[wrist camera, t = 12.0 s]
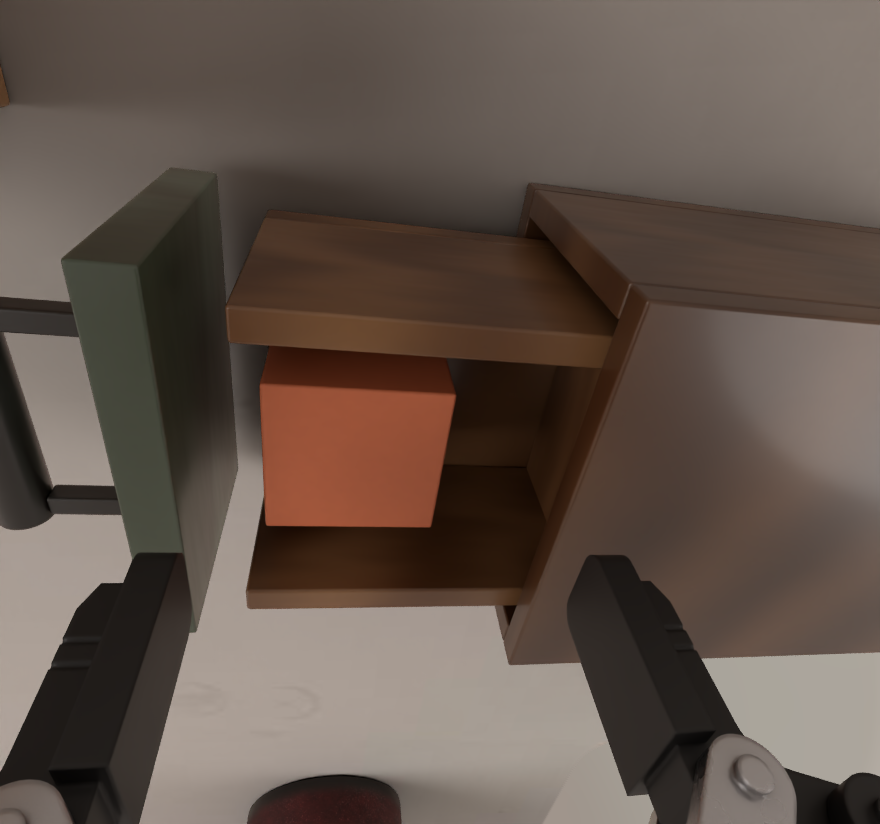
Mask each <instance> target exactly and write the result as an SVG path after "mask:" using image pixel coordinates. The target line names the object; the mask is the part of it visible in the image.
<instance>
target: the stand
mask: <svg viewBox="0 0 880 824" xmlns="http://www.w3.org/2000/svg"><path fill="white" fill-rule="evenodd" d="M9 103H10V101H9V97H8V93H7V89H6V85H5V82H4V78H3V74H2V70H1V66H0V107H4V106H7V105H9Z"/></svg>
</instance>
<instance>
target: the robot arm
mask: <svg viewBox="0 0 880 824" xmlns="http://www.w3.org/2000/svg"><path fill="white" fill-rule="evenodd" d="M191 616H192V602H191V596H190V589H189V583H188V577H187V571H186V565H185V559H184V555H183V553H160V552H140V553H137V554H136V555H135V557H134V558H133V560H132V563H131V565H130V567H129V570H128V572H127V575H126V577H125V580H124V582H123V583H101V584H100V585H99V586H98V587H97V588H96V589H95V590H94V591H93V592H92V593H91V595H90V596H89V597H88V598H87V599H86V600H85V601H84V602H83V603H82V604H81V605H80V606H79V607H78V608H77V609H76V611H75V613H74V616H73V618H72V620H71V622H70V624H69V626H68V628H67V631H66V633H65V635H64V637H63V643H62V644H61V645H60V646H59V648H58V650H57V652H56V654H55V657H54V659H53V661H52V663H51V664H52V665H51V669H50V670H48V672H47V674H46V676H45V678H44V680H43V682H42V685H41V687H40V689H39V691H38V693H37V695H36V697H35V700H34V702H33V704H32V706H31V708H30V710H29V713H28V715H27V717H26V719H25V721H24V723H23V726H22V728H21V730H20V732H19V734H18V736H17V738H16V741H15V743H14V745H13V747H12V749H11V751H10V754H9V756H8V758H7V760H6V762H5V764H4V766H3V768H2V770H1V772H0V824H139V822H140V818H141V814H142V810H143V807H144V803H145V799H146V795H147V791H148V788H149V784H150V780H151V776H152V772H153V769H154V765H155V761H156V757H157V754H158V750H159V746H160V742H161V738H162V735H163V731H164V727H165V723H166V720H167V716H168V712H169V708H170V704H171V701H172V697H173V693H174V689H175V685H176V682H177V678H178V674H179V670H180V667H181V663H182V659H183V655H184V651H185V648H186V644H187V640H188V636H189V631H190V625H191ZM567 621H568V626H569V630H570V633H571V636H572V638H573V641H574V644H575V647H576V650H577V653H578V656H579V659H580V661H581V664H582V667H583V670H584V673H585V676H586V679H587V681H588V684H589V687H590V690H591V693H592V696H593V699H594V702H595V704H596V707H597V710H598V713H599V716H600V719H601V722H602V724H603V727H604V730H605V733H606V736H607V739H608V742H609V745H610V747H611V750H612V753H613V756H614V759H615V762H616V764H617V767H618V770H619V773H620V776H621V779H622V782H623V784H624V787H625V790H626V793H627V796H634V795H645V794H649V797H650V799H651V802H652V805H653V807H654V811H653V812H652V814H651V818H650V821H649V824H880V777H879V776H877V775H873V774H870V773H856V774H854V775H852V776H850V777H849V778H848V779H847V780H845V781H844V782H843V783H842V784H840V785H839V784H835V783H832V782H828V781H825V780H822V779H819V778H815V777H812V776H809V775H805V774H802V773H799V772H795V771H792V770H789V769H787V768H784V767H783V766H782V765H781V764H780V762H779V761H778V760H777V759H776V758H775V757H774V756H773V755H772V754H771V753H770V752H769V751H768V750H767V749H766V748H764V747H763V746H762V745H760V744H759V743H757V742H756V741H754V740H752V739H750V738H748V737H745V736H744V735H743V734H742V732H741V731H740V730H739V728H738V726H737V724H736V723H735V721H734V719H733V717H732V715H731V714H730V712H729V710H728V708H727V706H726V704H725V702H724V701H723V699H722V697H721V695H720V693H719V691H718V689H717V687H716V686H715V684H714V682H713V680H712V678H711V676H710V674H709V673H708V671H707V669H706V667H705V665H704V663H703V662H702V660H701V658H700V656H699V654H698V652H697V650H694V647H693V646H694V645H693V643H692V641H691V639H690V637H689V635H688V633H687V631H686V630H684V629H683V624H682V622H681V620H680V618H679V617H678V615H677V613H676V611H675V609H674V607H673V605H672V604H671V602H670V601H669V600H668V599H667V598H666V596H665V595H664V594H663V593H662V592H661V591H660V590H659V589H658V588H657V587H656V586H655V585H654V584H653V583H652V582H651V581H641V580H640V578H639V576H638V574H637V572H636V570H635V568H634V566H633V564H632V562H631V561H630V559H629V558H628V557H627V556H625V555H589V556H588V557H587V558H586V560H585V562H584V564H583V566H582V568H581V571H580V573H579V575H578V578H577V580H576V582H575V584H574V587H573V589H572V591H571V594H570V596H569V598H568V602H567Z"/></svg>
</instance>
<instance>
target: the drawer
mask: <svg viewBox="0 0 880 824" xmlns="http://www.w3.org/2000/svg"><path fill="white" fill-rule="evenodd" d="M61 263H62V268H63V272H64V276H65V280H66V284H67V288H68V293H69V297H70V301H71V302H61V301H48V300H35V299H22V298H9V297H0V525H1V526H2V527H4V528H6V529H10V530H24V529H29V528H33V527H36V526H38V525H40V524H42V523H44V522H46V521H47V520H49V519H50V518H51V517H52V516H53V515H54V514H85V515H122V519H123V523H124V527H125V531H126V535H127V539H128V544H129V548H130V552H131V556H132V560H133V558H134V557H135V555H136V554H137V553H140V552H160V553H183V555H184V559H185V565H186V571H187V577H188V583H189V589H190V596H191V602H192V616H191V625H190V631H189V633H194V632H196V631H197V628H198V624H199V620H200V616H201V612H202V608H203V604H204V601H205V597H206V593H207V589H208V585H209V581H210V577H211V573H212V569H213V565H214V561H215V558H216V554H217V550H218V546H219V542H220V538H221V534H222V530H223V526H224V522H225V519H226V515H227V511H228V507H229V503H230V499H231V495H232V491H233V487H234V483H235V479H236V476H237V472H238V459H237V445H236V431H235V417H234V403H233V389H232V375H231V361H230V347H229V342H230V343H240V344H254V345H268V350H269V346H283V347H298V348H312V349H326V350H341V351H355V352H370V353H384V354H398V355H413V356H427V357H442V358H447V362H448V366H449V370H450V373H451V377H452V381H453V385H454V389H455V392H456V401H455V406H454V411H453V417H452V422H451V427H450V432H449V437H448V443H447V448H446V453H445V458H444V463H443V469H442V474H441V479H440V484H439V490H438V495H437V500H436V505H435V510H434V516H433V521H432V525H431V527H336V526H267V525H266V523H265V502H264V498H263V503H262V509H261V514H260V519H259V525H258V530H257V535H256V540H255V546H254V551H253V556H252V562H251V567H250V572H249V578H248V583H247V588H246V599H247V607H248V608H249V609H291V608H362V607H433V606H504V605H517V603H518V600H519V598H520V595H521V592H522V589H523V586H524V584H525V581H526V578H527V575H528V572H529V570H530V567H531V564H532V561H533V559H534V556H535V553H536V550H537V547H538V545H539V542H540V539H541V536H542V533H543V531H544V528H545V525H546V522H547V519H548V517H549V514H550V511H551V508H552V505H553V503H554V500H555V497H556V494H557V492H558V489H559V486H560V483H561V480H562V478H563V475H564V472H565V469H566V466H567V464H568V461H569V458H570V455H571V452H572V450H573V447H574V444H575V441H576V438H577V436H578V433H579V430H580V427H581V424H582V422H583V419H584V416H585V413H586V411H587V408H588V405H589V402H590V399H591V397H592V394H593V391H594V388H595V385H596V383H597V380H598V377H599V374H600V371H601V369H602V366H603V363H604V360H605V357H606V355H607V352H608V349H609V346H610V344H611V341H612V338H613V335H614V332H615V330H616V327H617V324H618V321H619V319H617V318H616V317H615V316H614V314H613V313H612V312H611V311H610V310H609V309H608V307H607V306H606V305H605V304H604V303H603V302H602V300H601V299H600V298H599V297H598V296H597V295H596V293H595V292H594V291H593V290H592V289H591V288H590V286H589V285H588V284H587V283H586V282H585V281H584V279H583V278H582V277H581V276H580V275H579V274H578V272H577V271H576V270H575V269H574V268H573V267H572V265H571V264H570V263H569V262H568V261H567V260H566V258H565V257H564V256H563V255H562V254H561V253H560V251H559V250H558V249H557V248H556V247H555V246H554V244H553V243H552V242H551V241H546V240H537V239H528V238H519V237H510V236H501V235H492V234H483V233H474V232H466V231H457V230H448V229H439V228H430V227H421V226H412V225H403V224H395V223H386V222H377V221H368V220H359V219H350V218H341V217H332V216H324V215H315V214H306V213H297V212H288V211H279V210H268V212H267V214H266V216H265V219H264V220H263V222H262V225H261V227H260V229H259V232H258V234H257V236H256V238H255V241H254V243H253V245H252V247H251V250H250V252H249V254H248V256H247V259H246V261H245V263H244V266H243V268H242V270H241V272H240V275H239V277H238V279H237V281H236V284H235V286H234V288H233V290H232V293H231V295H230V297H229V300H228V302H227V304H226V291H225V277H224V263H223V249H222V236H221V222H220V208H219V194H218V180H217V174H216V173H213V172H204V171H196V170H188V169H180V168H172V167H171V168H169V169H168V170H167V171H165V172H164V173H163V174H162V175H161V176H159V177H158V178H157V179H156V180H155V181H153V182H152V183H151V184H150V185H149V186H147V187H146V188H145V189H144V190H143V191H141V192H140V193H139V194H138V195H137V196H135V197H134V198H133V199H132V200H131V201H129V202H128V203H127V204H126V205H125V206H124V207H122V208H121V209H120V210H119V211H118V212H116V213H115V214H114V215H113V216H112V217H110V218H109V219H108V220H107V221H106V222H104V223H103V224H102V225H101V226H100V227H98V228H97V229H96V230H95V231H94V232H92V233H91V234H90V235H89V236H88V237H86V238H85V239H84V240H83V241H82V242H80V243H79V244H78V245H77V246H76V247H74V248H73V249H72V250H71V251H70V252H69V253H67V254H66V255H65V256H64V257H63V258H62V259H61ZM4 332H10V333H25V334H40V335H54V336H69V337H79V339H80V343H81V347H82V351H83V355H84V360H85V364H86V368H87V372H88V376H89V380H90V385H91V389H92V393H93V397H94V401H95V406H96V410H97V414H98V418H99V422H100V427H101V431H102V435H103V439H104V443H105V447H106V452H107V456H108V460H109V464H110V468H111V473H112V477H113V481H114V485H115V486H92V485H55V486H54V488H53V484H52V481H51V478H50V475H49V472H48V469H47V466H46V463H45V460H44V456H43V453H42V450H41V447H40V444H39V441H38V438H37V435H36V432H35V429H34V425H33V422H32V419H31V416H30V413H29V410H28V407H27V404H26V401H25V397H24V394H23V391H22V388H21V385H20V382H19V379H18V376H17V373H16V369H15V366H14V363H13V360H12V357H11V354H10V351H9V348H8V345H7V342H6V338H5V335H4Z"/></svg>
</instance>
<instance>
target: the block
mask: <svg viewBox="0 0 880 824" xmlns="http://www.w3.org/2000/svg"><path fill="white" fill-rule="evenodd" d="M259 388H260V411H261V434H262V457H263V480H264V502H265V523H266V525H267V526H336V527H431V525H432V521H433V516H434V510H435V505H436V500H437V495H438V490H439V484H440V479H441V474H442V469H443V463H444V458H445V453H446V448H447V443H448V437H449V432H450V427H451V422H452V417H453V411H454V406H455V401H456V392H455V389H454V385H453V381H452V377H451V373H450V370H449V366H448V362H447V358H442V357H427V356H413V355H398V354H384V353H370V352H355V351H341V350H326V349H312V348H298V347H283V346H269V350H268V354H267V358H266V362H265V365H264V369H263V373H262V377H261V381H260V385H259Z"/></svg>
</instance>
